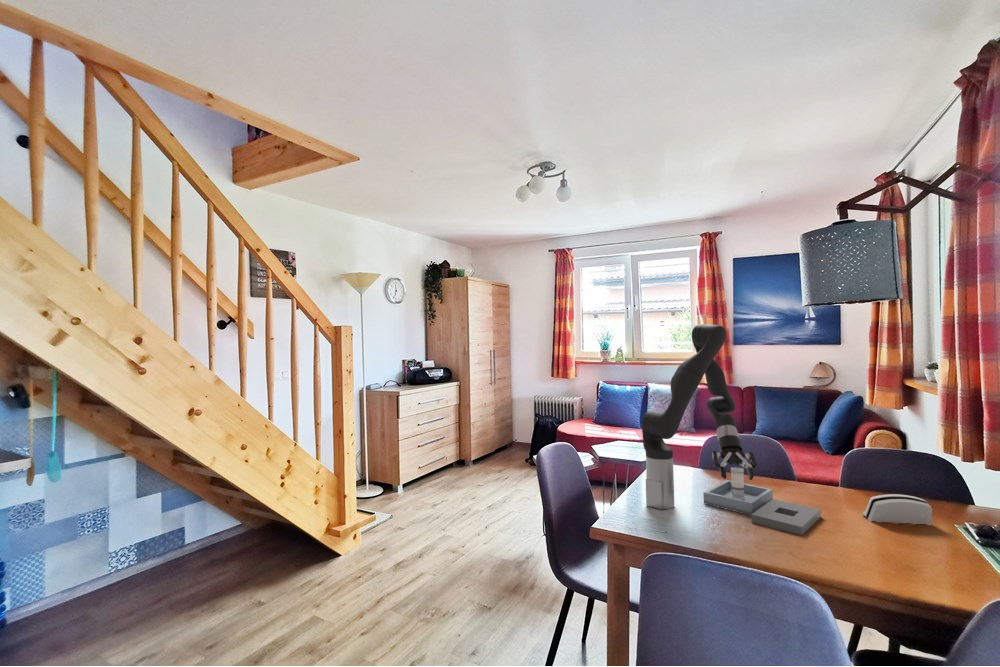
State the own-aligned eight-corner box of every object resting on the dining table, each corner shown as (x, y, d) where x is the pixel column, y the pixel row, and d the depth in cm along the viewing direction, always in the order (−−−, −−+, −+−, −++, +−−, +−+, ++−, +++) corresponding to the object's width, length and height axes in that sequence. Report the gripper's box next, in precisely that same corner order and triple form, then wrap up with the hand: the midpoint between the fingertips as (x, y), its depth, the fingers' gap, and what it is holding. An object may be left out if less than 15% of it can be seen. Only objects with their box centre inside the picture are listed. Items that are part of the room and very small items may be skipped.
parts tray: (751, 515, 151) (751, 503, 152) (703, 503, 163) (703, 492, 164) (772, 500, 165) (772, 489, 165) (727, 490, 177) (726, 480, 177)
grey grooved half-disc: (921, 519, 145) (927, 493, 142) (931, 530, 141) (937, 503, 138) (860, 515, 149) (865, 490, 146) (868, 526, 145) (873, 499, 142)
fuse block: (802, 535, 136) (801, 526, 136) (751, 522, 146) (751, 514, 146) (820, 517, 149) (820, 509, 149) (773, 506, 159) (772, 499, 159)
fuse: (741, 501, 161) (741, 470, 161) (729, 499, 164) (728, 468, 165) (746, 499, 164) (745, 468, 164) (734, 496, 167) (733, 466, 167)
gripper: (710, 433, 175) (718, 472, 163) (751, 434, 171) (762, 474, 160) (707, 444, 180) (715, 482, 168) (747, 445, 176) (757, 484, 165)
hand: (738, 478), depth 164 cm, fingers open, 8 cm apart
